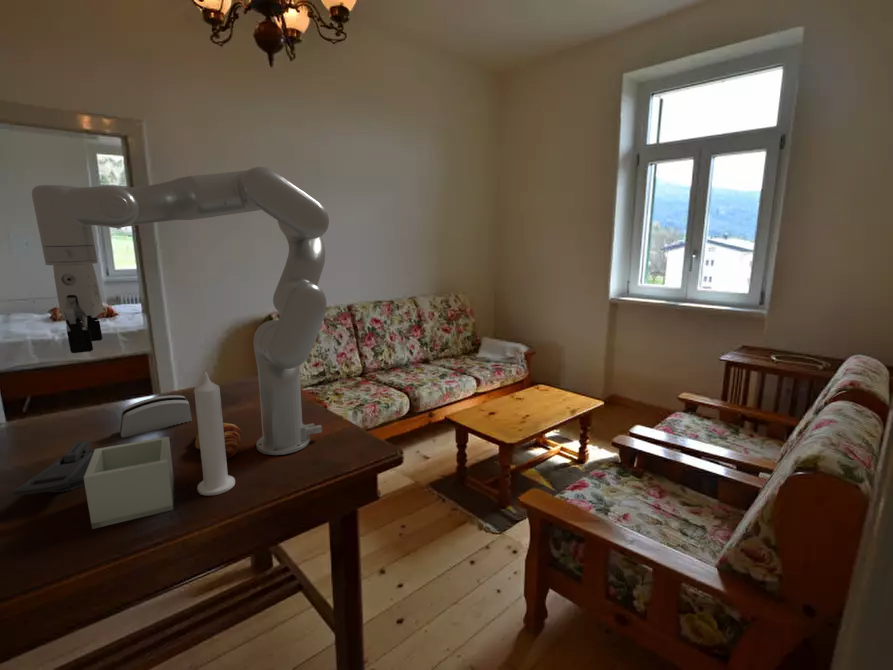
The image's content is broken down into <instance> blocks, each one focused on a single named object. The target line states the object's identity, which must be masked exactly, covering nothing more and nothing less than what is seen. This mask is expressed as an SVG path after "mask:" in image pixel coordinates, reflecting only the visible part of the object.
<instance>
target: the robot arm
mask: <svg viewBox="0 0 893 670" xmlns="http://www.w3.org/2000/svg"><path fill="white" fill-rule="evenodd" d="M31 198H32V203H33V204H32V205H33V207H34V208H33V209H34V214H35V219H36V224H37V228H38V232H39V237H40V242H41V247H42V255H43V258H44V263H45V266H53V267H52V268H53V277H54V283H55V288H56V289H55V290H56V295H57V300H58V305H59V310H60V314H61V317H62V318H63V319H65V324H66V325H65V326H66V327H65V328H66V333H67V334H66V336H67V341H68V346H69V349H70V353H72V354H77V353H79V354H80V353H89V352H90V353H91V352H93V350H94V346H93V342H98V341H102V340H103V335H102V328H101V324H100V323H101V322H100V320H99V315H100V314H101V313H102V312H103V310H104V305H103V301H102V296H101V291H100V288H99V283H98V279H97V274H96V270H95V268H94V264H98V263H99V261H98V256H97V250H96V246H95V237H94V234H93V228H92V227H93V226H97V227H107V228H113V229H120V228H121V229H122V228H127V227H133V226H140V225H149V224H154V223H161V222H170V221H192V220H201V219H207V218H215V217H221V216H227V215H228V216H229V215H234V214H241V213H249V212H250V213H251V212H256V211H263V212H265V214H267V215H269V216H270V217H272V218H273V219H275V220H277V224H278V227H279V229H280V231H281V232H282V233H283V235H284V236H285V238H286V241H287V244H288V255H287V258H286V262H285V265H284V268H283V270H282V272H281V275H280V277H279V281H278V282H277V283H278V284H277V286H276V288H275V291H274V294H273V299H272V303H273V306H274V308H275V310H276V311H277V312H279V314H280V316H279V318H278V319H277V320H276V319H273V320H267V321H265V322H263V323H262V324H260V325H259V327H257V329H256V330H255V333H254V336H253V351H254V357H255V362H256V368H257V377H258V389H259V390H258V391H259V404H260V417H261V430H262V436H261V437H260V438H259V439H258V440H257V441H256V450H257V451H258V452H260V453H261V454H264V455H269V456H282V455H283V456H284V455H289V454H293V453H297V452H299V451H300V450H303V449H304V448H306V447H307V446H308V445H309V443H310V435H313V434H319V433H322V432H323V427H322V424H318V425H315V423H308V424H306V423H304V422H303V411H302V391H301V373H300V372H301V371H300V366H302V365H303V364H304V363H305V362H306V361H307V360H308V358H309V357H310V354H312V351H313V348H314V345H315V343H316V341H317V338H318V335H319V332H320V330H321V327H322V324H323V322H324V319H325V315H326V312H327V305H328V304H327V303H328V302H327V297H326V295H325V292H324V291H323V290H322V288H321V287H320V286H319V282H320V280H321V276H322V272H323V269H324V265H325V262H326V250H325V244H324V241H323V238H322V236H323V235H325V234H326V232H327V231H328V229H329V224H330V219H329V218H330V217H329V214H328V211H327V210H326V208H325V207H324V206H323V204H321V203H320V202H319V201H318V200H316V199H315V198H313V197H312V196H311V195H309V193H306V192H305V191H304V190H302V189H300V188H299V187H297V186H296V185H295V184H294V183H292V182H291V181H289V180H288V179H286V178H285V177H283V176H282V175H280V174H279V173H277V172H275V171H274V170H272V169H270V168H267V167H263V166H256V167H251V168H250V169H247V170H246V169H245V170H240V171H229V172H228V171H227V172H218V173H206V174H196V175H187V176H182V177H179V178H175V179H173V180H169V181H166V182H161V183H160V182H159V183H155V184H150V185H141V186H134V187H133V186H132V187H131V186H130V187H123V188H122V187H120V186H115V185H100V186H85V187H76V186H72V185H60V184H59V185H58V184H41V185H37V186H35V187H33V188H32V190H31Z"/></svg>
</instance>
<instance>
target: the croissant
mask: <svg viewBox="0 0 893 670" xmlns="http://www.w3.org/2000/svg"><path fill="white" fill-rule="evenodd" d="M223 429H224V440H225V451H226V460H227V459H230V458H231V457H234V456H235V454H237V453H238V450H239V447H240V444H241V434H242V431H241V429H240V428H239V427H238V426H237V425H236V424H233V423H227V422H223ZM194 446H195V448H196V449H198V450H200V441H199V431H197V433H196V438H195V442H194Z"/></svg>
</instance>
